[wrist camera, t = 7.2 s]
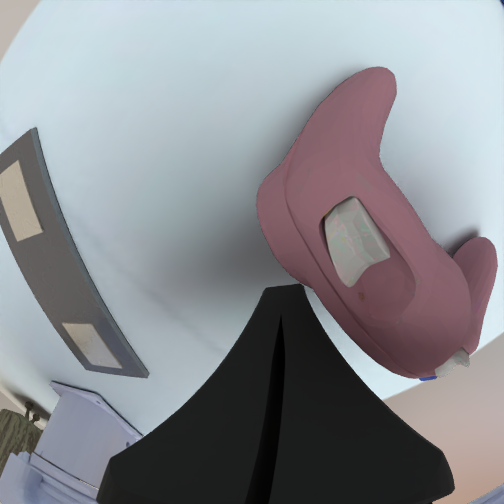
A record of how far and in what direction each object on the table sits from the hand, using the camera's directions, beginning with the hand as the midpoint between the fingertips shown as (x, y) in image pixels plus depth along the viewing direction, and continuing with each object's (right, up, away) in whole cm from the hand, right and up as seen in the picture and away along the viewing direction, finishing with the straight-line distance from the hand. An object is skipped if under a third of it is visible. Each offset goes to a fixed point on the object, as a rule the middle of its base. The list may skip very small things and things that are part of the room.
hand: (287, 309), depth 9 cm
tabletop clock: (-39, -26, +22) cm, 52 cm away
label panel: (-12, 0, +4) cm, 13 cm away
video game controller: (+4, +4, +1) cm, 6 cm away
